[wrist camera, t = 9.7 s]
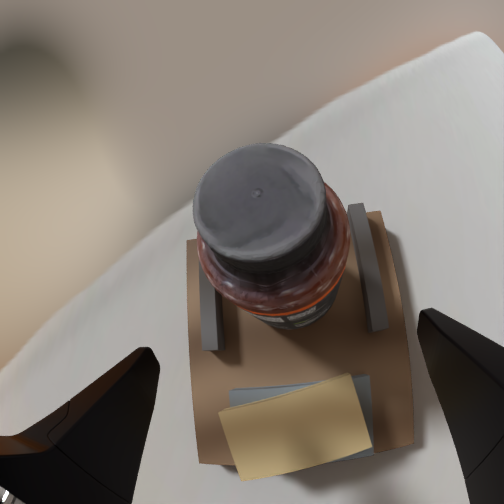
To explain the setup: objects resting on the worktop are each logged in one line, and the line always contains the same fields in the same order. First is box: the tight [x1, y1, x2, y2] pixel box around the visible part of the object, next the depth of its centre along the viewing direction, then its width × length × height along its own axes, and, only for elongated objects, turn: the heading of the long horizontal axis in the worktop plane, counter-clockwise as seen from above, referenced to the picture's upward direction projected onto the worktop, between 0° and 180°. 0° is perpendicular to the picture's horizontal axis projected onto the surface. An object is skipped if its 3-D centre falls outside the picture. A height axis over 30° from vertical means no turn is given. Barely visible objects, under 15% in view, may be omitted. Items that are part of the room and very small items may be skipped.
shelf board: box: [187, 203, 414, 481], centre depth 17 cm, size 16×14×5 cm
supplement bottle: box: [193, 143, 350, 330], centre depth 14 cm, size 6×6×11 cm
